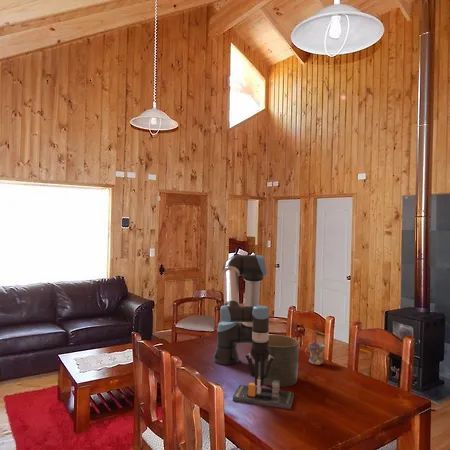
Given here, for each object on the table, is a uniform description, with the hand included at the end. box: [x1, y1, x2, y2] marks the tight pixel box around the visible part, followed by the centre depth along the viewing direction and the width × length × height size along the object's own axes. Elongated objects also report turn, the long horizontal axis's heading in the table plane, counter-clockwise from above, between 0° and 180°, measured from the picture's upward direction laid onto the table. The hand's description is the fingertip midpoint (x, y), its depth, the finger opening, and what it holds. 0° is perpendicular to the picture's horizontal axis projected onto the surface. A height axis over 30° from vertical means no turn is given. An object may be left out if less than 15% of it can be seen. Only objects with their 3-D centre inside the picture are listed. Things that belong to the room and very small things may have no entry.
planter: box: [258, 334, 300, 388], centre depth 206 cm, size 22×22×20 cm
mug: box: [304, 342, 325, 366], centre depth 232 cm, size 12×9×11 cm
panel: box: [232, 380, 295, 410], centre depth 182 cm, size 26×14×7 cm, turn 74°
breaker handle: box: [247, 382, 257, 397], centre depth 180 cm, size 3×3×5 cm
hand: (259, 392), depth 179 cm, fingers closed
